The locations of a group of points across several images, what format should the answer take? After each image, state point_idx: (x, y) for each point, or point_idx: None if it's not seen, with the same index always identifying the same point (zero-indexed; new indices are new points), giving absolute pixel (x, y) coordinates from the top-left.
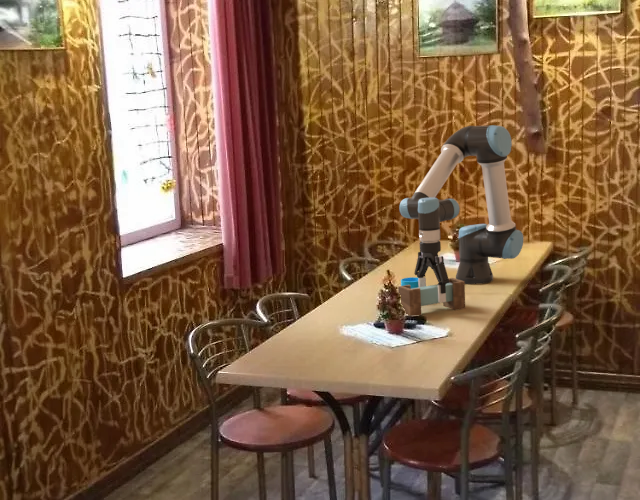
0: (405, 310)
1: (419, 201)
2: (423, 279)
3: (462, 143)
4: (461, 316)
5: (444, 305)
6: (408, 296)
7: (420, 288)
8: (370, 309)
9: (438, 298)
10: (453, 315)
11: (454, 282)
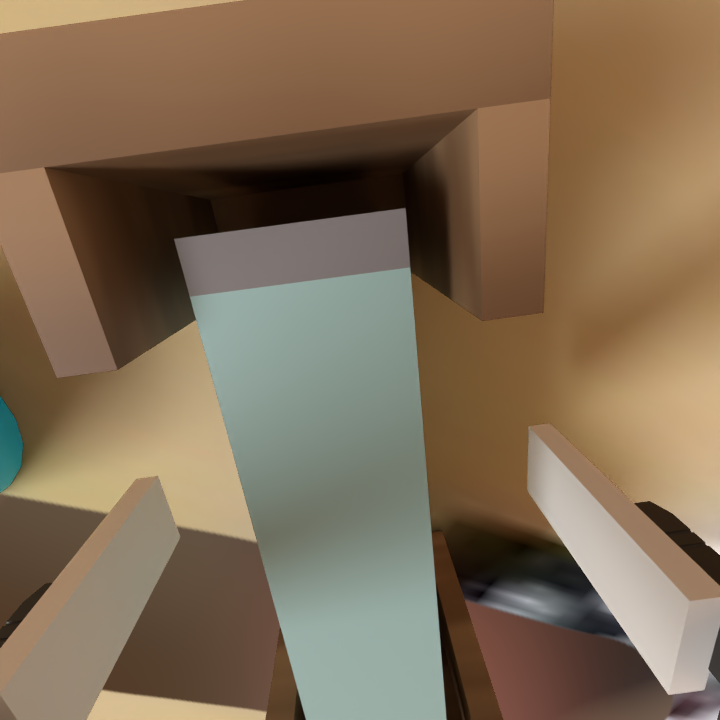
0: None
1: None
2: (43, 689)
3: None
4: (636, 303)
5: None
6: None
7: (377, 717)
8: (132, 701)
9: (554, 519)
10: (568, 344)
11: (495, 273)
